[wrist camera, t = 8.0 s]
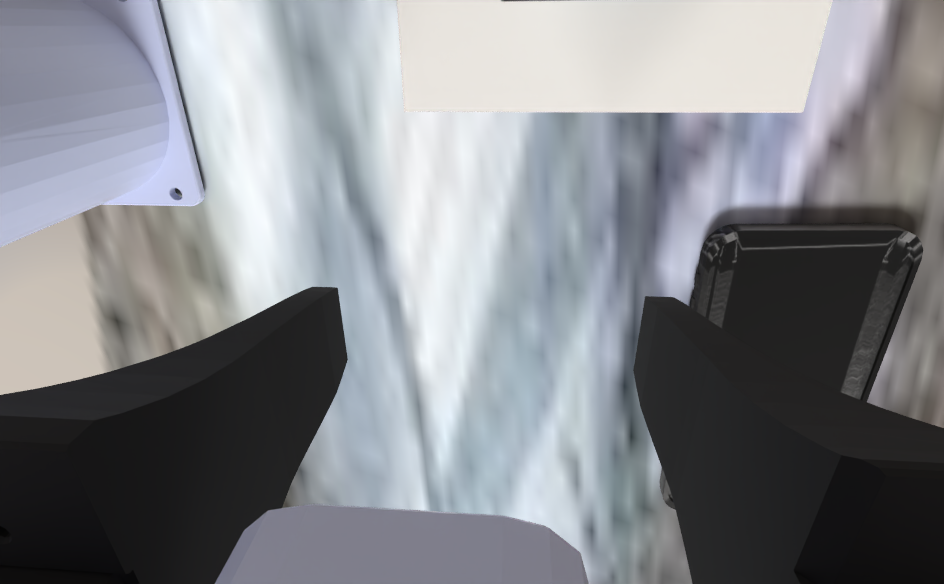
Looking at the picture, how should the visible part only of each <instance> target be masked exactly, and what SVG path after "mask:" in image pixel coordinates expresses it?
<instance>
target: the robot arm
mask: <svg viewBox="0 0 944 584" xmlns="http://www.w3.org/2000/svg"><path fill="white" fill-rule="evenodd" d="M175 188H178V189H179V190H180V191H181V193H182V197H179V196H178V195H177V194H176V192H175ZM204 197H205V194H204V188H203V184H202V180H201V176H200V172H199V168H198V164H197V160H196V156H195V152H194V148H193V144H192V140H191V136H190V132H189V128H188V124H187V120H186V116H185V112H184V108H183V104H182V100H181V96H180V92H179V87H178V83H177V79H176V75H175V71H174V67H173V63H172V59H171V55H170V51H169V47H168V43H167V39H166V35H165V31H164V27H163V23H162V19H161V15H160V11H159V7H158V3H157V0H127V1H126V0H0V247H2V246H4V245H7V244H9V243H11V242H14V241H16V240H18V239H21V238H23V237H25V236H28V235H30V234H32V233H35V232H37V231H40V230H42V229H44V228H46V227H49V226H51V225H54V224H56V223H58V222H61V221H63V220H65V219H68V218H70V217H72V216H75V215H77V214H79V213H82V212H84V211H86V210H89V209H91V208H93V207H96V206H98V205H100V204H101V205H162V206H194V205H197V204H199V203H200V202H202V201H203V199H204ZM347 360H348V359H347V352H346V345H345V338H344V331H343V323H342V316H341V309H340V302H339V295H338V288H332V287H311V288H308V289H306V290H303V291H301V292H299V293H297V294H295V295H293V296H291V297H289V298H287V299H285V300H283V301H281V302H279V303H277V304H275V305H273V306H271V307H269V308H267V309H266V310H264V311H262V312H260V313H258V314H256V315H254V316H252V317H250V318H248V319H246V320H244V321H242V322H240V323H238V324H236V325H234V326H231V327H229V328H227V329H225V330H223V331H221V332H219V333H217V334H215V335H213V336H210V337H208V338H206V339H203V340H201V341H199V342H196V343H194V344H191V345H189V346H186V347H184V348H181V349H178V350H176V351H173V352H170V353H168V354H165V355H162V356H159V357H156V358H153V359H150V360H147V361H143V362H140V363H137V364H134V365H130V366H127V367H124V368H121V369H117V370H114V371H111V372H107V373H103V374H100V375H95V376H92V377H88V378H84V379H80V380H76V381H71V382H66V383H62V384H57V385H53V386H48V387H43V388H38V389H33V390H27V391H21V392H15V393H9V394H4V395H0V584H588V579H587V576H586V572H585V568H584V565H583V561H582V557H581V554H580V552H579V551H577V550H576V549H575V548H574V547H572V546H571V545H570V544H569V543H567V542H566V541H565V540H564V539H562V538H561V537H560V536H558V535H557V534H556V533H555V532H553V531H552V530H551V529H550V528H548V527H546V526H543V525H539V524H535V523H531V522H527V521H523V520H519V519H515V518H511V517H507V516H501V515H485V514H469V513H453V512H436V511H420V510H404V509H388V508H371V507H355V506H339V505H323V504H309V505H302V506H295V507H288V508H282V506H283V503H284V501H285V498H286V495H287V493H288V490H289V488H290V485H291V483H292V481H293V478H294V476H295V474H296V472H297V470H298V467H299V466H300V464H301V462H302V460H303V458H304V456H305V454H306V452H307V450H308V448H309V446H310V444H311V442H312V440H313V438H314V436H315V435H316V433H317V431H318V429H319V427H320V425H321V423H322V421H323V419H324V417H325V415H326V413H327V411H328V409H329V407H330V405H331V403H332V401H333V399H334V397H335V395H336V393H337V390H338V387H339V384H340V381H341V379H342V376H343V372H344V369H345V366H346V363H347ZM634 376H635V381H636V387H637V392H638V397H639V402H640V406H641V409H642V412H643V415H644V418H645V421H646V424H647V427H648V430H649V433H650V435H651V438H652V441H653V444H654V446H655V449H656V452H657V455H658V458H659V460H660V463H661V466H662V469H663V471H664V474H665V477H666V480H667V483H668V485H669V488H670V491H671V495H672V498H673V501H674V504H675V508H676V512H677V516H678V521H679V525H680V529H681V533H682V537H683V542H684V546H685V550H686V555H687V560H688V564H689V569H690V574H691V578H692V583H693V584H944V428H941V427H938V426H935V425H931V424H928V423H925V422H922V421H919V420H916V419H912V418H909V417H906V416H903V415H900V414H897V413H894V412H892V411H889V410H886V409H883V408H880V407H877V406H875V405H872V404H870V403H867V402H864V401H862V400H859V399H857V398H854V397H852V396H849V395H847V394H844V393H842V392H839V391H837V390H834V389H832V388H830V387H828V386H825V385H823V384H821V383H819V382H816V381H814V380H812V379H810V378H808V377H806V376H804V375H802V374H800V373H798V372H796V371H794V370H792V369H789V368H788V367H786V366H784V365H782V364H780V363H778V362H776V361H774V360H773V359H771V358H769V357H767V356H766V355H764V354H762V353H760V352H759V351H757V350H755V349H754V348H752V347H750V346H748V345H747V344H745V343H744V342H742V341H740V340H739V339H737V338H736V337H734V336H733V335H731V334H729V333H728V332H726V331H725V330H723V329H722V328H720V327H719V326H717V325H716V324H714V323H713V322H711V321H710V320H708V319H707V318H705V317H704V316H702V315H701V314H699V313H698V312H696V311H695V310H693V309H692V308H690V307H689V306H687V305H686V304H684V303H683V302H681V301H679V300H677V299H675V298H673V297H648V296H645V301H644V308H643V314H642V320H641V327H640V333H639V339H638V346H637V352H636V358H635V365H634Z"/></svg>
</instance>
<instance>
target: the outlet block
mask: <svg viewBox="0 0 944 584" xmlns="http://www.w3.org/2000/svg"><path fill="white" fill-rule="evenodd" d="M832 1H833V0H397V9H398V25H399V40H400V55H401V70H402V86H403V101H404V112H746V113H803V110H804V107H805V103H806V99H807V95H808V92H809V88H810V84H811V80H812V76H813V73H814V69H815V65H816V61H817V58H818V54H819V50H820V46H821V43H822V39H823V35H824V31H825V27H826V24H827V20H828V16H829V12H830V9H831V5H832Z"/></svg>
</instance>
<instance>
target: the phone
mask: <svg viewBox="0 0 944 584" xmlns="http://www.w3.org/2000/svg"><path fill="white" fill-rule="evenodd" d="M922 254H923V247H922V242H921V241H920V240H919V239H918V237H917V236H916V235H914V234H912V233H910V232H908V231H906V230H904V229H903V228H901V227H899V226H897V225H893V224H733V225H727V226H724V227H722V228H720V229H718V230H716V231H715V232H714V233H712V234H711V235H710V236H709V237H708V238H707V240H706V241H705V242H704V244H703V247H702V250H701V254H700V259H699V265H698V271H697V273H696V277H695V283H694V285H695V287H694V293H693V297H692V298H691V303H690V308H692V309H693V310H695V311H696V312H698V313H699V314H701V315H702V316H704V317H705V318H707V319H708V320H710V321H711V322H713V323H714V324H716V325H717V326H719V327H720V328H722V329H723V330H725V331H726V332H728V333H729V334H731V335H733V336H734V337H736V338H737V339H739V340H740V341H742V342H744V343H745V344H747V345H748V346H750V347H752V348H754V349H755V350H757V351H759V352H760V353H762V354H764V355H766V356H767V357H769V358H771V359H773V360H774V361H776V362H778V363H780V364H782V365H784V366H786V367H788V368H789V369H792V370H794V371H796V372H798V373H800V374H802V375H804V376H806V377H808V378H810V379H812V380H814V381H816V382H819V383H821V384H823V385H825V386H828V387H830V388H832V389H834V390H837V391H839V392H842V393H844V394H847V395H849V396H852V397H854V398H857V399H859V400H862V401H864V402H867V399H868V397H869V394H870V392H871V389H872V386H873V384H874V381H875V379H876V376H877V373H878V371H879V368H880V366H881V363H882V361H883V358H884V355H885V353H886V350H887V348H888V345H889V342H890V340H891V337H892V335H893V332H894V329H895V327H896V324H897V322H898V319H899V316H900V314H901V311H902V309H903V306H904V303H905V301H906V298H907V296H908V293H909V290H910V288H911V285H912V283H913V280H914V277H915V275H916V272H917V270H918V267H919V265H920V262H921V259H922ZM660 489H661V492H662V495H663V499H664V501H665V503H666V504H667V505H668V506H669V507H671V508H673V509H675V510H676V508H675V504H674V501H673V498H672V495H671V491H670V488H669V485H668V483H667V480H666V477H665V474H664V471H663V469H662V472H661V478H660Z"/></svg>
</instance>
